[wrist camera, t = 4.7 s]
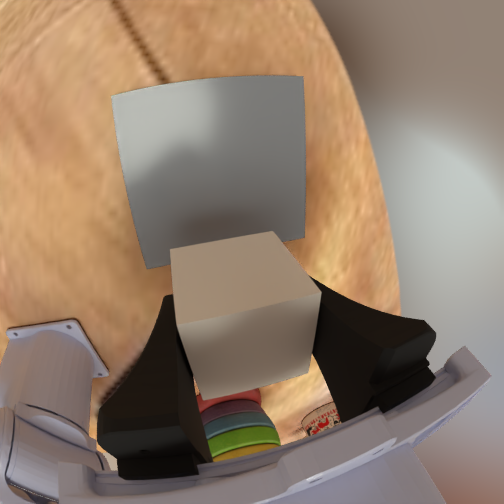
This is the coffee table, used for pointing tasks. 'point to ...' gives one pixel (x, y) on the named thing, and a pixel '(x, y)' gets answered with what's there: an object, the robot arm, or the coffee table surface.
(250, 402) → the stacking bear
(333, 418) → the teacup with lid
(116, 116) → the plate
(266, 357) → the block
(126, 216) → the coffee table surface
